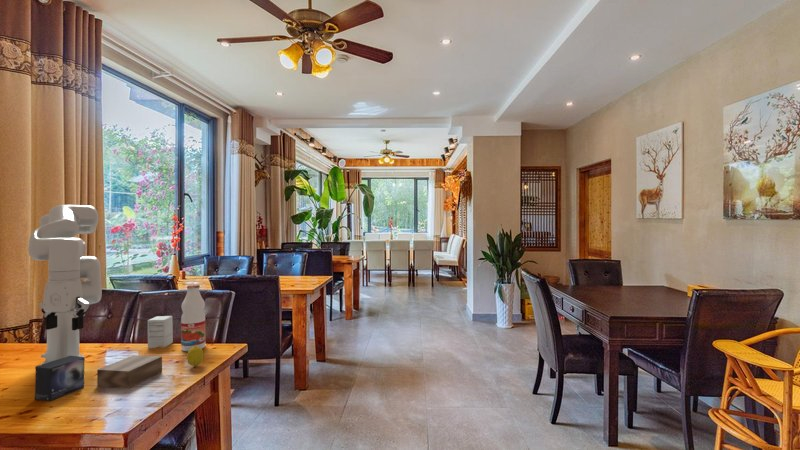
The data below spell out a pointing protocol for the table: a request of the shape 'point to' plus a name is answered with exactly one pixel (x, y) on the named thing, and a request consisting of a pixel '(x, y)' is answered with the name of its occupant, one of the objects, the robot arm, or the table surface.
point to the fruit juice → (193, 319)
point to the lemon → (195, 356)
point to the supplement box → (160, 331)
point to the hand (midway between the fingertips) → (64, 328)
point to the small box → (59, 378)
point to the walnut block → (129, 371)
